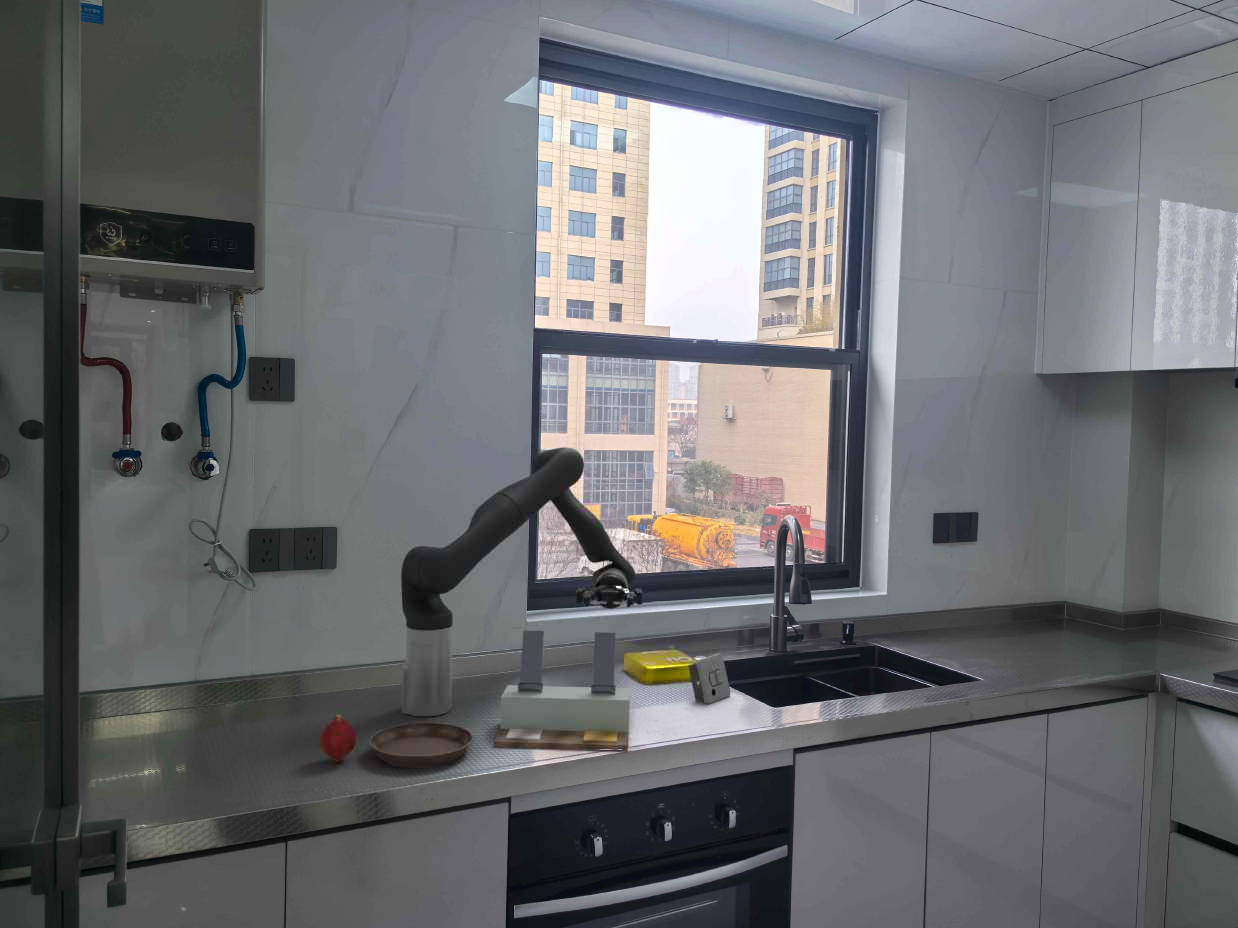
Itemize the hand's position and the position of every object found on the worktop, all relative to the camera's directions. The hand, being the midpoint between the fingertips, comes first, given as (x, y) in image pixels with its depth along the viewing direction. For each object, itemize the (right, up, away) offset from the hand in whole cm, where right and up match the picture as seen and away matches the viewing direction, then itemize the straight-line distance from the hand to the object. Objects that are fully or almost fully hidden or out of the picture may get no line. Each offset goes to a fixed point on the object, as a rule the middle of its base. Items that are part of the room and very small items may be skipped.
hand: (608, 601), depth 178 cm
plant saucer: (-32, -22, -28) cm, 48 cm away
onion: (-45, -22, -33) cm, 60 cm away
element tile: (+12, -22, +27) cm, 38 cm away
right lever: (-1, -14, -14) cm, 20 cm away
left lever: (-15, -14, -14) cm, 25 cm away
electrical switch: (+22, -23, +8) cm, 32 cm away
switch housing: (-8, -21, -14) cm, 27 cm away
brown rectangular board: (-8, -22, -16) cm, 28 cm away
